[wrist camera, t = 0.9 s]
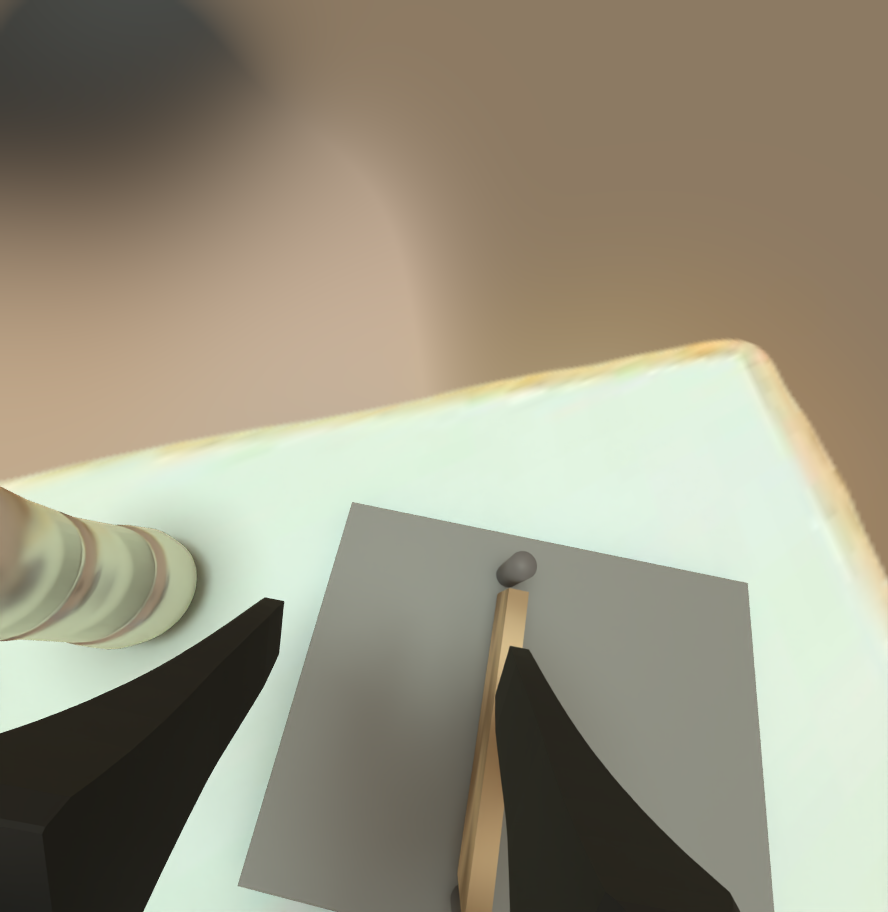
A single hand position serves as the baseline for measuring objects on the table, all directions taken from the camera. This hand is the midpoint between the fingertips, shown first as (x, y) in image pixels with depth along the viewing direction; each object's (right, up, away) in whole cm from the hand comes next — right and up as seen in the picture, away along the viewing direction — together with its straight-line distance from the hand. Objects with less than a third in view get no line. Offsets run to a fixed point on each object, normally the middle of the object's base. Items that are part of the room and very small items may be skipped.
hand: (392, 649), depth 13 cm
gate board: (+6, -8, +10) cm, 15 cm away
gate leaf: (+4, -8, +9) cm, 13 cm away
